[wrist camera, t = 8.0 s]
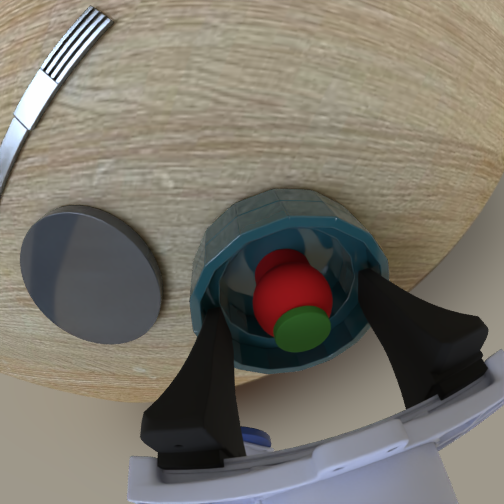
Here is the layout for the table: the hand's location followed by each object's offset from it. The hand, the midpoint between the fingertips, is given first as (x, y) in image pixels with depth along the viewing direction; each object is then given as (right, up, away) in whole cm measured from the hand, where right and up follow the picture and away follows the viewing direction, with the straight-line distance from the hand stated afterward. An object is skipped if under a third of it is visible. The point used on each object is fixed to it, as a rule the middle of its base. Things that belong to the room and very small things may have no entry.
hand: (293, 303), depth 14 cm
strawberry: (0, +1, +2) cm, 3 cm away
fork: (-15, +9, -3) cm, 18 cm away
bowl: (0, +2, +3) cm, 3 cm away
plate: (-12, +1, +2) cm, 13 cm away
